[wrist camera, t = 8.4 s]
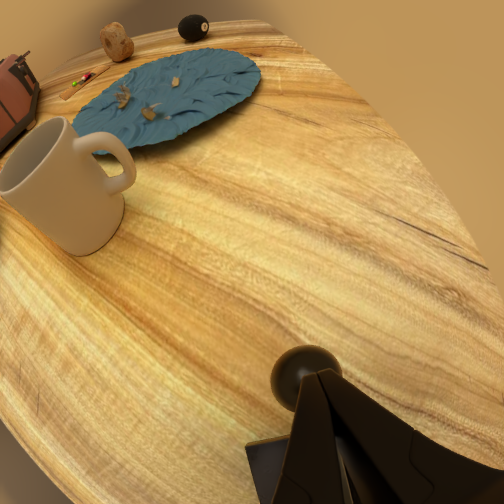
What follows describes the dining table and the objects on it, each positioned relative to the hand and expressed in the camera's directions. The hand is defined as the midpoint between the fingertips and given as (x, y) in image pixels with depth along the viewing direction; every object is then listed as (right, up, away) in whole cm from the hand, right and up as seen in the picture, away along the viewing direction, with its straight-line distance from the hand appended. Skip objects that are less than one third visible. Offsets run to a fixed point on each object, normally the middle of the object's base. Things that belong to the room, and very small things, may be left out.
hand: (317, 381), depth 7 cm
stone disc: (-30, +46, +39) cm, 68 cm away
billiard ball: (-13, +47, +37) cm, 61 cm away
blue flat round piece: (-16, +26, +27) cm, 41 cm away
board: (-39, +41, +38) cm, 68 cm away
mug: (-17, +7, +19) cm, 26 cm away
